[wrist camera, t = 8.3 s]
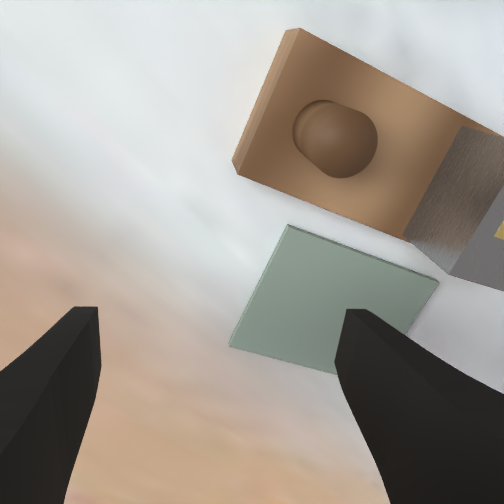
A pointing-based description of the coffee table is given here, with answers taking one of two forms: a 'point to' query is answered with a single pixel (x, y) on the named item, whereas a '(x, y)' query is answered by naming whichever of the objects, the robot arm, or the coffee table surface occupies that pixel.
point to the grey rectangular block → (465, 210)
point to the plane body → (345, 135)
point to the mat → (323, 299)
